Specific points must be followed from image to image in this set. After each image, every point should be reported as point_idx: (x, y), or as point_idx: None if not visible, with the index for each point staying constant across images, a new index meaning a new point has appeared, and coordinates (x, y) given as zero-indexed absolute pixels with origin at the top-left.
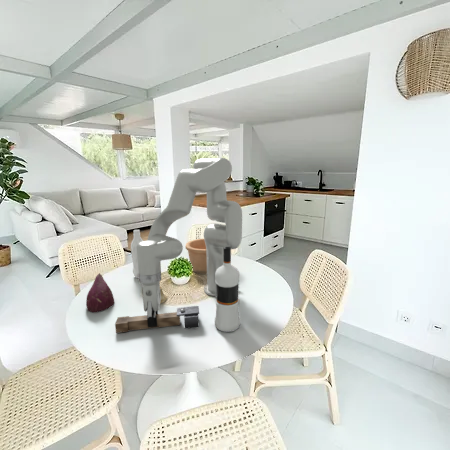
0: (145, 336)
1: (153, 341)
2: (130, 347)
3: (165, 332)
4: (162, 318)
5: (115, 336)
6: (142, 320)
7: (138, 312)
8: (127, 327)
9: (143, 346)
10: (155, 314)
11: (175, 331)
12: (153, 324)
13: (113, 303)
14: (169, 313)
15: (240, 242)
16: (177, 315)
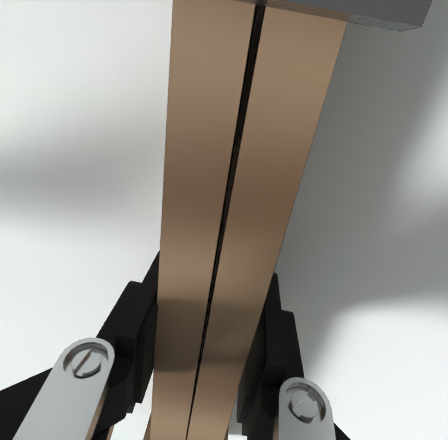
0: (321, 328)
1: (417, 291)
2: (385, 397)
3: (353, 192)
4: (275, 264)
5: (242, 437)
6: (230, 415)
7: (9, 338)
8: (227, 437)
9: (427, 347)
10: (312, 426)
11: (396, 87)
12: (290, 323)
13: None
14: (185, 158)
15: None
16: (419, 9)
